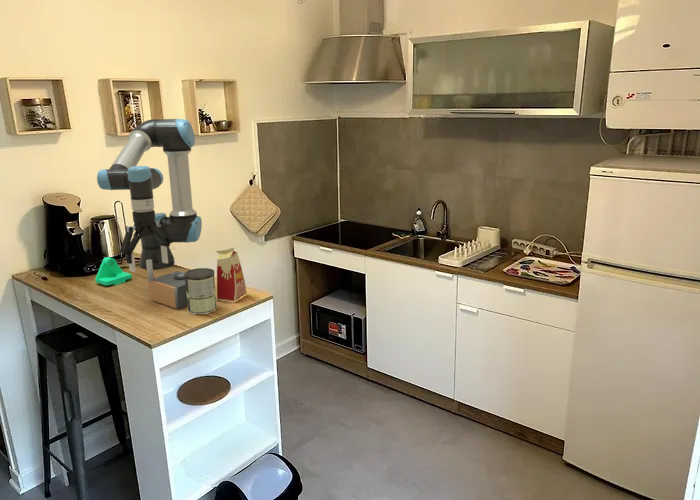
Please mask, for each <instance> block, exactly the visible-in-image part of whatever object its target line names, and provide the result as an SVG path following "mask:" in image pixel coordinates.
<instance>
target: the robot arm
mask: <svg viewBox="0 0 700 500" xmlns="http://www.w3.org/2000/svg"><path fill="white" fill-rule="evenodd" d="M193 128H194V127H193V126H192V123H191V122H190V121H189V120H188V119H184V118H167V119H166V118H162V119H161V118H158V119H157V118H154V119H153V118H152V119H148V120H145V121H143V122H140V124H138V125H136V126H135V127H134V128H133V129H131V131H130V132H129V134H128V136H127V142H126V143H125V144H124V146H123V148H122V149H121V151H120V152H119V154H118V155H117V156H116V158H115V160H114V161H113V163H112V164H111V165H110V167H109V168H105V169H100V170H99V171H97V173H96V174H97V175H96V180H97V185H98V187H99V188H100V189H101V190H105V191H106V190H107V191H119V190H120V191H124V190H125V191H126V190H127V191H128V190H129V193H130V194H129V195H130V204H131V210H132V221H133V226H129V225H126V226H125V234H124V237H123V240H122V243H121V247H120V250H119V253H120V254H122V255H125V258H126V263H127V264H128V269H129V273H130V272H131V273H136V272H137V270H136V269H137V268H136V262H135V254H134V252H135V251H134V250H135V249H136V247H137V246H138V244H139V242H140V243H141V253H140V258H139V267H140V268H141V269H145V270H147V265H146V260H149V259H151V260H152V266H153V270H160V269H165V268H169V267H172V266H173V265H175V263H176V262H175V257H174V255H173V253H172V250H171V248H170V246H171V244H173V243H187V244H188V243H195V242H197V241H199V239H200V238H201V232H202V229H203V228H202V226H203V221H202V220H203V219H202V218H201V216H199V215H197V214H198V213H197V211H196V210H195V209H194V207H193V199H192V196H193V195H192V186H191V173H190V172H191V171H190V164H189V163H190V162H189V154H191V152H192V148H193V147H194V146H195V145H196V140H195V139H196V137H195V131H194V129H193ZM151 148H162V151H163V152H162V153H164V154H165V155H166V157H167V165H168V166H167V167H168V176H169V185H170V196H171V198H170V199H171V205H172V207H171V208H172V210H171V211H170V212H169V216H167V214H166V212H157V213H156V212H155V211H156V210H155V201H154V191H153V190H155V189H157V188H159V187H160V186H161V185H162V184H163V183H164V174H163V173H162V171H161V170H160V169H158V168H156V167H149V166H147V165H138V164H139V162H140V160H141V159H142V157H143V156H144V154H145V152H148V151H149V150H150V149H151Z"/></svg>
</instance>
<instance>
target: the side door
mask: <svg viewBox="0 0 700 500" xmlns="http://www.w3.org/2000/svg"><path fill="white" fill-rule="evenodd" d="M146 265H147V269H146V271H147V274H146V275H147V280H146V282H147V290H148V299H149V300H150V301H153V302H156V303H160V304H162V305H165V306H167V307H168V306H169V307H171V308H173V309H177V310H178V309H180V308H179V299H178V289H177V287H174V286H170V285H167V284H164V283H161V282H157V281H154V278H155V277H154V269H153V266H152V260H151V259H149V260H146Z"/></svg>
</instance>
